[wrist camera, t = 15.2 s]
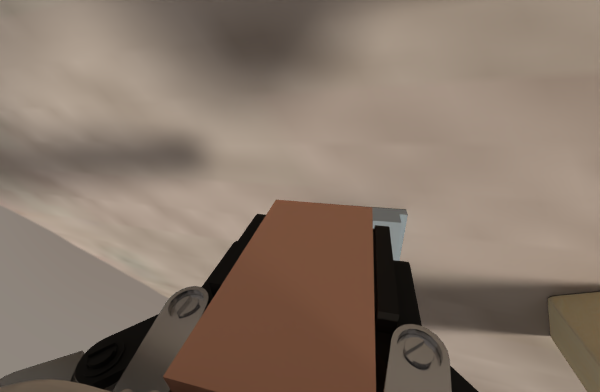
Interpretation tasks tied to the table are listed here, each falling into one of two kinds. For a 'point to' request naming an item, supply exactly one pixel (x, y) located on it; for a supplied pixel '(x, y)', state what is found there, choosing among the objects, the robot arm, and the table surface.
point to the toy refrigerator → (578, 334)
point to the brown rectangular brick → (290, 309)
